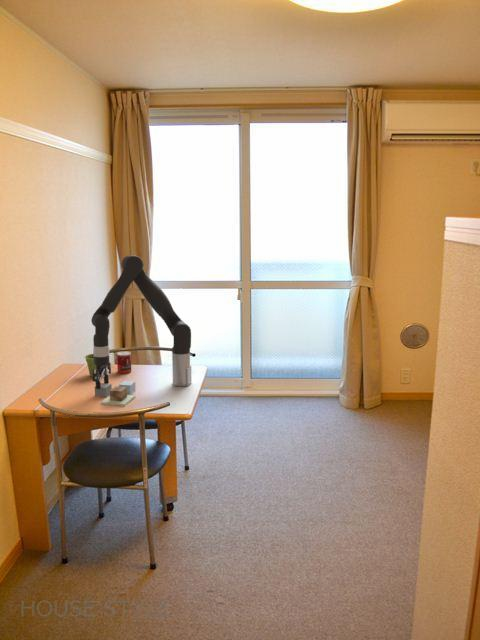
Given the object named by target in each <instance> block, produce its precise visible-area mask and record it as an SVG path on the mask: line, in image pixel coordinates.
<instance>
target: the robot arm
mask: <svg viewBox="0 0 480 640" xmlns="http://www.w3.org/2000/svg"><path fill="white" fill-rule="evenodd" d="M143 267H144V261H143V259H142V258H141V257H140V256H137V255H135V254H133V255H131V254H128V255H126V256H124V257H123V258H122V260H121V268H122V272H121V274H120V276H119V277H118V280H116V282H114V285H113V286H112V287H111V288H110V290H109V291H108V293H106V296H105V298H104V299H103V301H102V303H101V305H99V307H98V308H97V309H96V310H95V311H94V313H93V314H92V317H91V324H92V326H93V327H94V329H95V331H94V332H95V333H94V335H93V339H92V340H93V347H92V348H93V353H92V354H93V357H94V364H95V365H96V369H93V377H92V382H95V386H96V389H100V388H101V385H100V383H101V380H102V378H103V383H107V384H110V381H109V380H110V379H109V376H110V375H111V374H112V366H111V365H112V363H111V362H110V347H109V334H110V333H109V332H110V328H111V327H110V319H109V316H110V315H111V314H112V313H114V312H115V311H116V310H117V308H118V306H119V304H120V302H121V300H122V299H123V297H124V295H125V294H126V292H127V291H128V289H129V287H130V286H131V284H132V283H133V282H134V283H135V285H136V286H137V288H138V289H139V291H140V293H141V294H142V295H143V297H144V299H145V300H146V301H147V303H148V304H149V306H150V307H151V308H152V309H153V311H154V312H155V313H156V314H157V315H158V316H159V317H160V318H161V320H163V322H164V323H165V325H166V326H167V328H168V330H169V332H170V334H171V336H172V337H173V346H172V348H171V357H172V358H171V359H172V360H171V361H172V363H171V364H172V369H171V370H172V385H173V386H176V387H189V385H191V383H192V365H191V346H192V330H191V327H190V326H189V325H188V324H187V323H185V322H184V320H182V319H181V318H180V317H179V316H178V314H177V313H176V312H175V310H174V308H173V306H172V304H171V302H170V299H169V297H167V295H166V294H165V292H164V291H163V290H162V289H161V287H160V285H159V284H157V283H156V282H155V281H154V280H153V279H152V278H151V277H150V276H149V275H148V274H147V273H146V272H145V270H144V268H143Z"/></svg>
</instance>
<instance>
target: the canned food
mask: <svg viewBox="0 0 480 640" xmlns="http://www.w3.org/2000/svg"><path fill="white" fill-rule="evenodd" d="M116 361H117V362H116V364H117V366H116V367H117V373H118V374H120V375H121V374H122V375H126V374H130V373H132V354H131V352H130V351H125V350H124V351H118V352H117V353H116Z"/></svg>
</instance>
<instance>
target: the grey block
mask: <svg viewBox="0 0 480 640" xmlns="http://www.w3.org/2000/svg"><path fill="white" fill-rule="evenodd" d="M100 385H101V388H100V389H96V385H95V386H94V397H99V398H100V397H101V398H107V397H109V396H110V390H111V389H112V388H113V386H112V383H108V384H107V383H104V382H100Z"/></svg>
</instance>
